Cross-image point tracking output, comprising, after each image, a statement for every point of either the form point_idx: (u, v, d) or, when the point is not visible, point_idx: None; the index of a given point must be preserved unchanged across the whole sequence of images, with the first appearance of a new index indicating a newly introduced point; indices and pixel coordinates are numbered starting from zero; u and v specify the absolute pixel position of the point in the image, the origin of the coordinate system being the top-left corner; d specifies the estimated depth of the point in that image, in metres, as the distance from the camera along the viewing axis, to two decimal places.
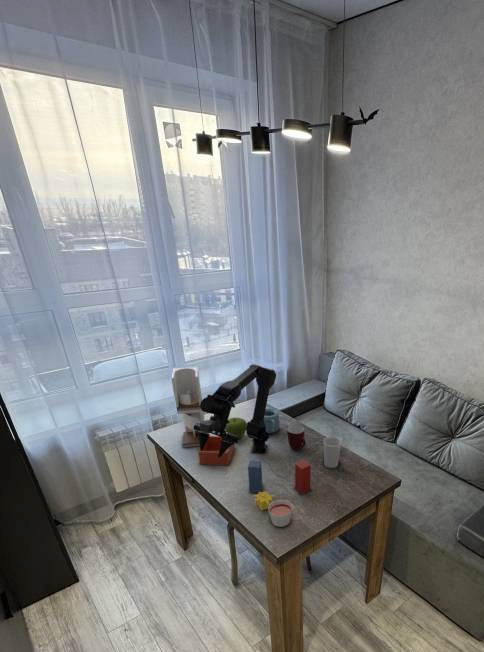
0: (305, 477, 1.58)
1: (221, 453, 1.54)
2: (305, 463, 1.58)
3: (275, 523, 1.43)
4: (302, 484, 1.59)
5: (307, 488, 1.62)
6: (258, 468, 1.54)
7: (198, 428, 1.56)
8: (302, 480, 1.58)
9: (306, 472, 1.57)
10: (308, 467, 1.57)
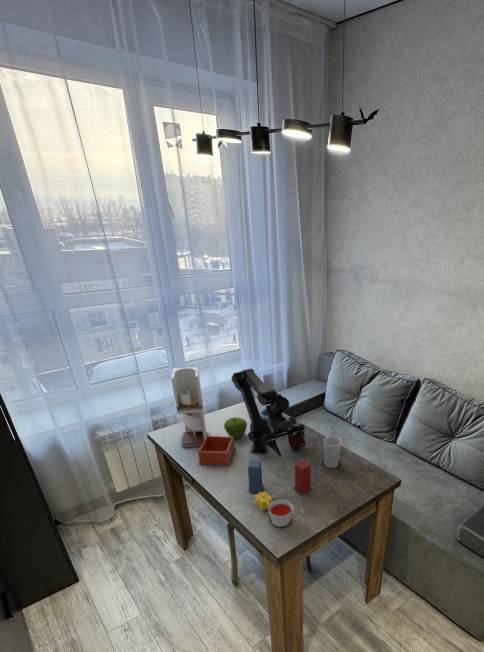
0: (305, 477, 1.58)
1: None
2: (305, 463, 1.58)
3: (275, 523, 1.43)
4: (302, 484, 1.59)
5: (307, 488, 1.62)
6: (258, 468, 1.54)
7: (271, 436, 1.57)
8: (302, 480, 1.58)
9: (306, 472, 1.57)
10: (308, 467, 1.57)
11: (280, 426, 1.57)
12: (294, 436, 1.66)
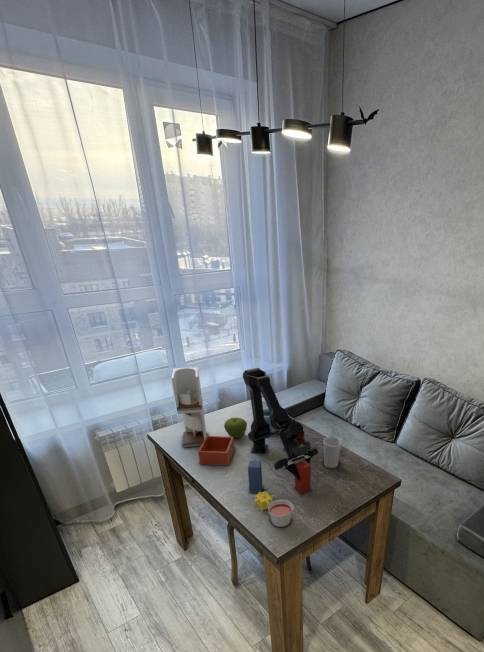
0: (305, 477, 1.58)
1: None
2: (305, 463, 1.58)
3: (275, 523, 1.43)
4: (302, 484, 1.59)
5: (307, 488, 1.62)
6: (258, 468, 1.54)
7: (286, 462, 1.54)
8: (302, 480, 1.58)
9: (306, 472, 1.57)
10: (308, 467, 1.57)
11: (294, 451, 1.55)
12: None
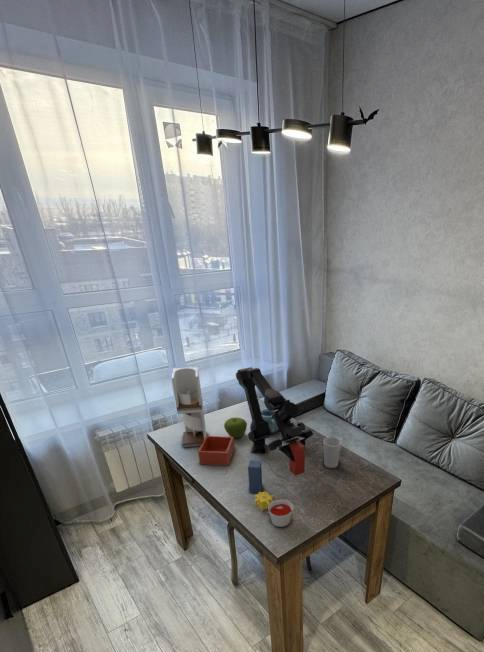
0: (299, 458, 1.57)
1: None
2: (299, 444, 1.57)
3: (275, 523, 1.43)
4: (296, 465, 1.58)
5: (301, 470, 1.61)
6: (258, 468, 1.54)
7: (280, 443, 1.54)
8: (296, 461, 1.57)
9: (300, 453, 1.57)
10: (302, 448, 1.56)
11: (289, 432, 1.54)
12: None
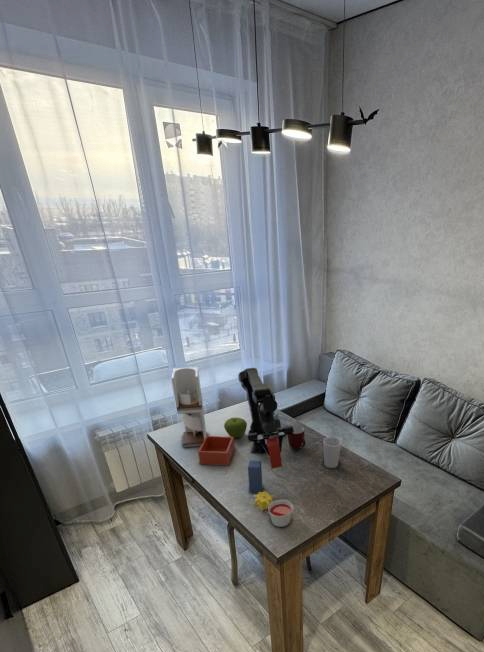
0: (274, 454, 1.60)
1: None
2: (275, 440, 1.59)
3: (275, 523, 1.43)
4: (271, 460, 1.62)
5: (278, 464, 1.64)
6: (258, 468, 1.54)
7: (254, 436, 1.58)
8: (271, 456, 1.60)
9: (274, 449, 1.59)
10: (275, 445, 1.58)
11: (263, 428, 1.56)
12: (278, 438, 1.63)
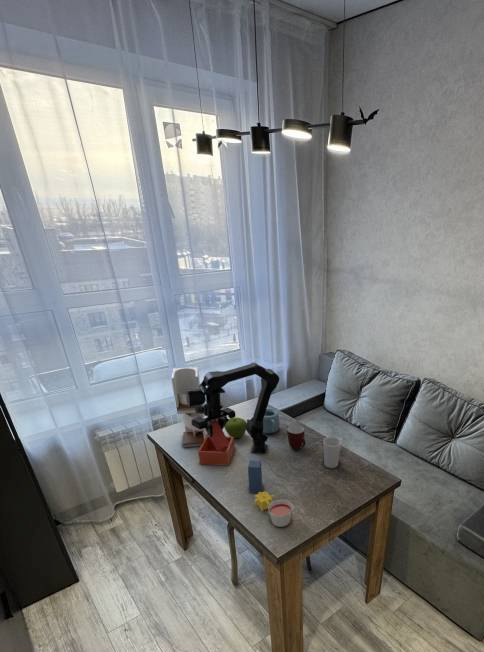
0: None
1: (208, 433, 1.70)
2: None
3: (275, 523, 1.43)
4: None
5: None
6: (258, 468, 1.54)
7: None
8: None
9: None
10: None
11: None
12: None
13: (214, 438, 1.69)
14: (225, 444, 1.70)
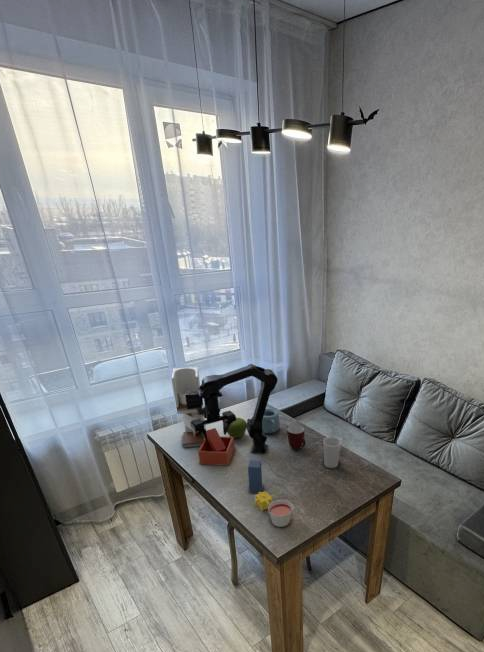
0: None
1: (204, 437, 1.73)
2: None
3: (275, 523, 1.43)
4: None
5: None
6: (258, 468, 1.54)
7: None
8: None
9: None
10: None
11: None
12: None
13: (212, 444, 1.76)
14: (221, 448, 1.75)
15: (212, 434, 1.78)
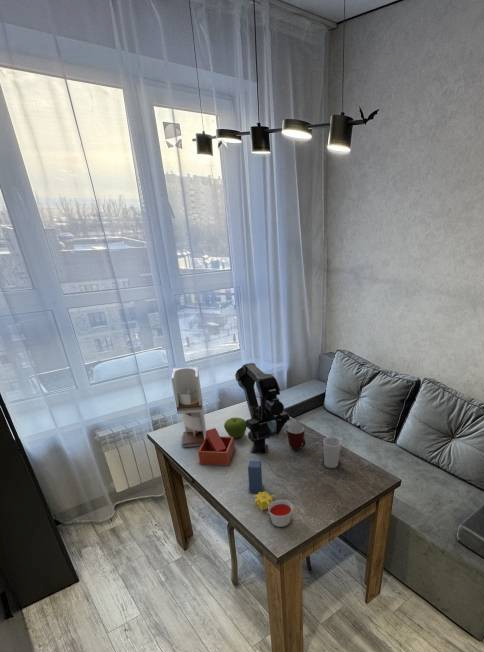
0: None
1: (257, 436, 1.69)
2: None
3: (275, 523, 1.43)
4: None
5: None
6: (258, 468, 1.54)
7: None
8: None
9: None
10: None
11: None
12: None
13: (212, 444, 1.76)
14: (221, 448, 1.75)
15: (212, 434, 1.78)
